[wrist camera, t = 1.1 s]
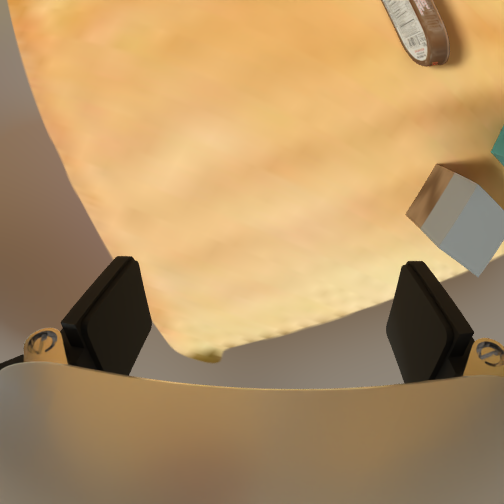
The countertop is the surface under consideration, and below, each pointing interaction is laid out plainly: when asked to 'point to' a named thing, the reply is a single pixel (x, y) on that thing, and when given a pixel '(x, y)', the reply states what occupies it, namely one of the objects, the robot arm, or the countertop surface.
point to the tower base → (429, 195)
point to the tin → (420, 30)
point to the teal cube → (499, 147)
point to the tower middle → (466, 224)
